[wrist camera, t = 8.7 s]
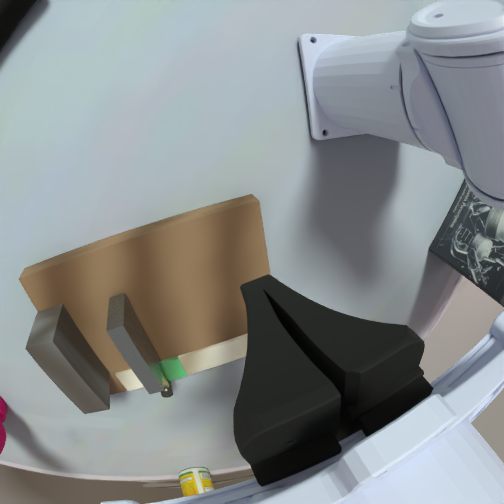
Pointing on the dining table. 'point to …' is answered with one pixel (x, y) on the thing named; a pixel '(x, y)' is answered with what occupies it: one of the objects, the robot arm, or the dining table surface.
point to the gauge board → (148, 299)
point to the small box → (474, 242)
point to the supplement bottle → (195, 481)
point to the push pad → (135, 345)
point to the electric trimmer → (11, 16)
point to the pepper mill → (0, 416)
